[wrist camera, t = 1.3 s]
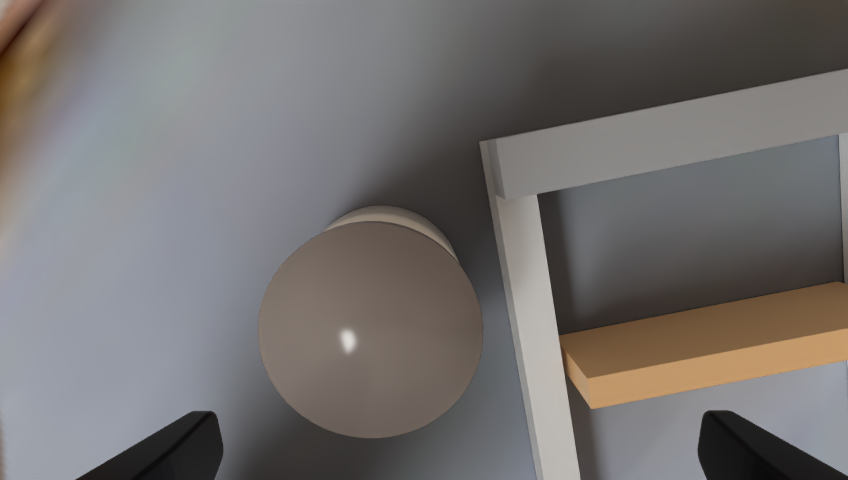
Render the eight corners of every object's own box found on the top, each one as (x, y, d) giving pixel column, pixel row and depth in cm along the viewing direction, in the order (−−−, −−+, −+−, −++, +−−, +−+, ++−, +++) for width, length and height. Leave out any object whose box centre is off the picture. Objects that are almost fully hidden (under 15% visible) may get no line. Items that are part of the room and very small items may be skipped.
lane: (557, 596, 24) (586, 686, 20) (478, 141, 20) (495, 139, 16) (885, 535, 23) (981, 612, 19) (873, 62, 19) (990, 40, 15)
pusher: (558, 361, 21) (591, 409, 17) (554, 336, 21) (586, 378, 17) (838, 307, 21) (935, 343, 17) (837, 281, 21) (935, 311, 17)
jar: (323, 371, 21) (288, 456, 15) (284, 220, 20) (231, 249, 14) (475, 342, 21) (500, 415, 15) (447, 188, 20) (461, 203, 14)
